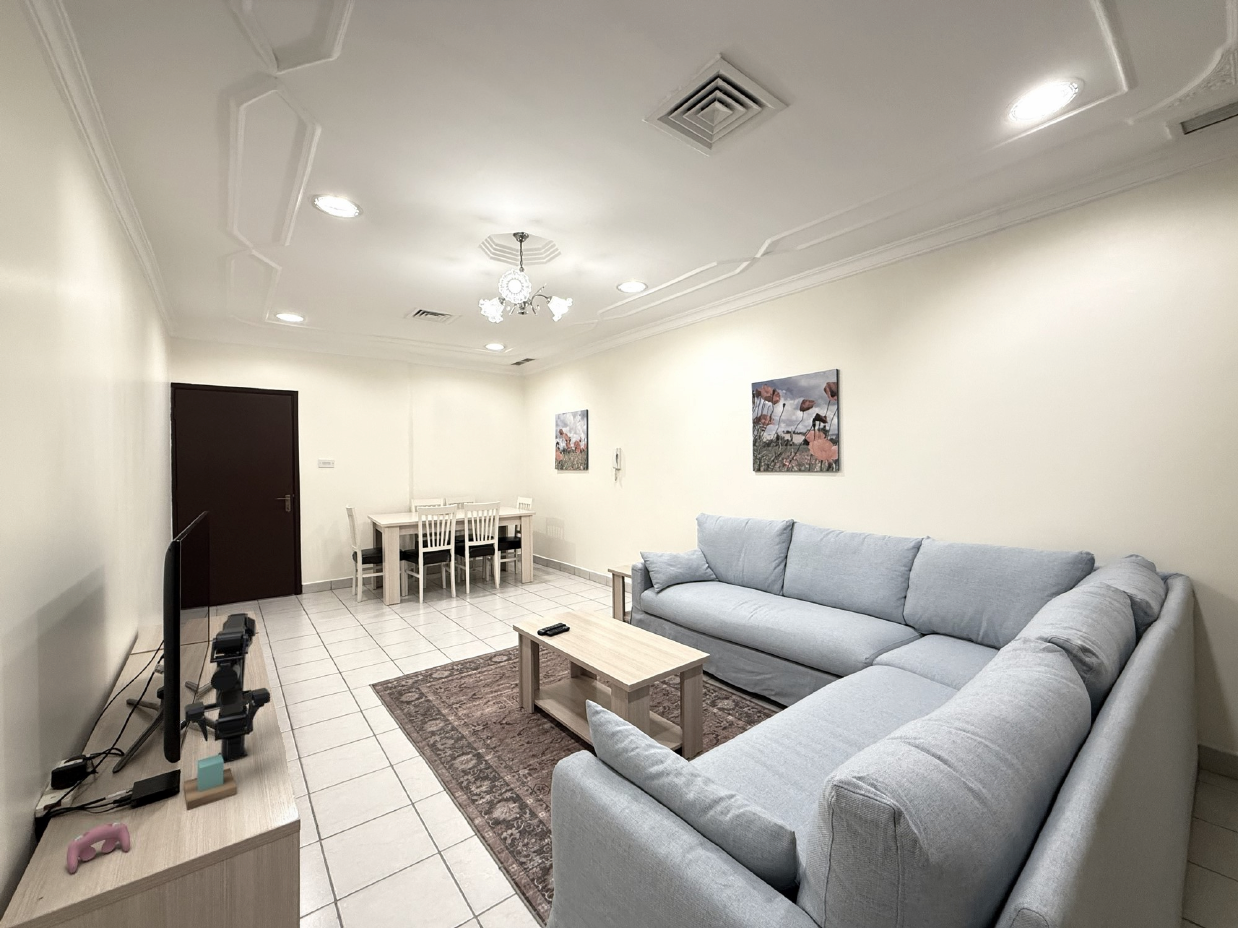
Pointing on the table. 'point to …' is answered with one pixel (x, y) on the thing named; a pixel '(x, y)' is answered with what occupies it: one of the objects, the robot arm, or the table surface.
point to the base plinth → (209, 791)
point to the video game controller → (84, 842)
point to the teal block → (210, 772)
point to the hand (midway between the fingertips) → (227, 735)
